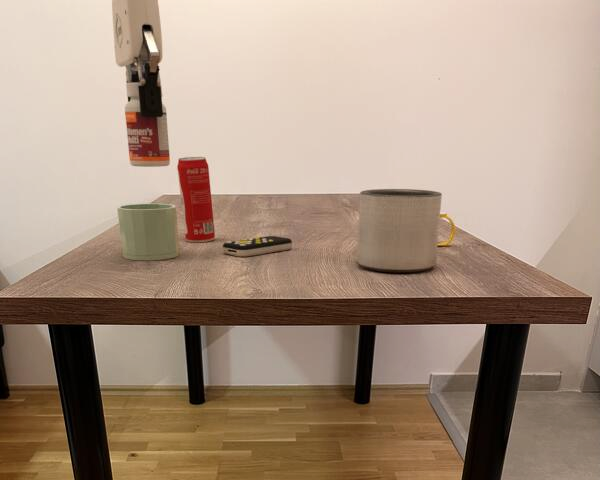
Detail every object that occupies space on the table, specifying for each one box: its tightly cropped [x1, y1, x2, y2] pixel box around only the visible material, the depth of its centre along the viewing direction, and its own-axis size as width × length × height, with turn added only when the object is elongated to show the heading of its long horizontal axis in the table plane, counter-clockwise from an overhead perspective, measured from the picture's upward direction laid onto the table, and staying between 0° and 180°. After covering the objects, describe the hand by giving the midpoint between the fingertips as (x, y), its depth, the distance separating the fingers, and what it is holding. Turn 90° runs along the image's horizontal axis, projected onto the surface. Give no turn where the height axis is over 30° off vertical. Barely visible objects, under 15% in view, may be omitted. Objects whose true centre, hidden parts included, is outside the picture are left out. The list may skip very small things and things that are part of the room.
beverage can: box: [176, 156, 216, 243], centre depth 121 cm, size 6×6×15 cm
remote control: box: [222, 235, 293, 258], centre depth 113 cm, size 6×13×2 cm, turn 136°
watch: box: [437, 211, 456, 247], centre depth 119 cm, size 6×3×6 cm, turn 86°
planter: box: [356, 188, 443, 274], centre depth 99 cm, size 13×12×11 cm
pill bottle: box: [124, 83, 171, 168], centre depth 97 cm, size 6×6×11 cm
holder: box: [116, 203, 180, 262], centre depth 108 cm, size 10×10×8 cm
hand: (145, 115), depth 96 cm, fingers closed on pill bottle, 6 cm apart
